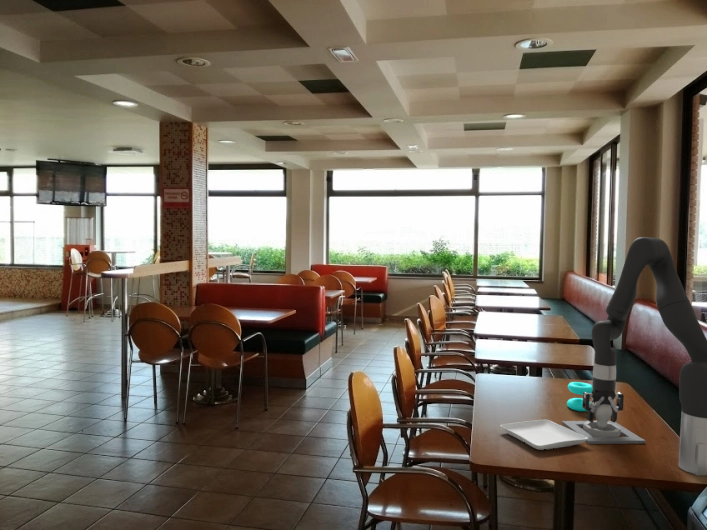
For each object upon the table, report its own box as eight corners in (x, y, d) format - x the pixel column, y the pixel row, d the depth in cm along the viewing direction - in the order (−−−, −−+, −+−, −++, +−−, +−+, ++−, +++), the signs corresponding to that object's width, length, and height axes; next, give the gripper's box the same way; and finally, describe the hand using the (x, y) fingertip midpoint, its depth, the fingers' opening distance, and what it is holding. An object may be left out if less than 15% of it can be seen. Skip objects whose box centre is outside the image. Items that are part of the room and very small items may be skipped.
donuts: (571, 387, 223) (564, 380, 233) (570, 411, 223) (563, 404, 233) (597, 388, 222) (589, 381, 232) (596, 413, 222) (588, 405, 232)
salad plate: (497, 433, 198) (498, 423, 198) (546, 427, 205) (547, 417, 205) (537, 455, 178) (537, 445, 178) (589, 448, 186) (590, 438, 185)
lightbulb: (612, 436, 196) (614, 406, 195) (594, 435, 197) (595, 404, 196) (608, 430, 202) (610, 401, 201) (590, 429, 203) (592, 399, 202)
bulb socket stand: (645, 443, 190) (645, 436, 190) (588, 443, 189) (588, 436, 188) (613, 423, 210) (613, 416, 210) (561, 423, 208) (562, 417, 208)
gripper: (590, 379, 194) (587, 425, 195) (629, 379, 195) (627, 425, 196) (579, 373, 201) (577, 418, 202) (617, 373, 202) (615, 418, 203)
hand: (601, 421), depth 199 cm, fingers open, 7 cm apart
